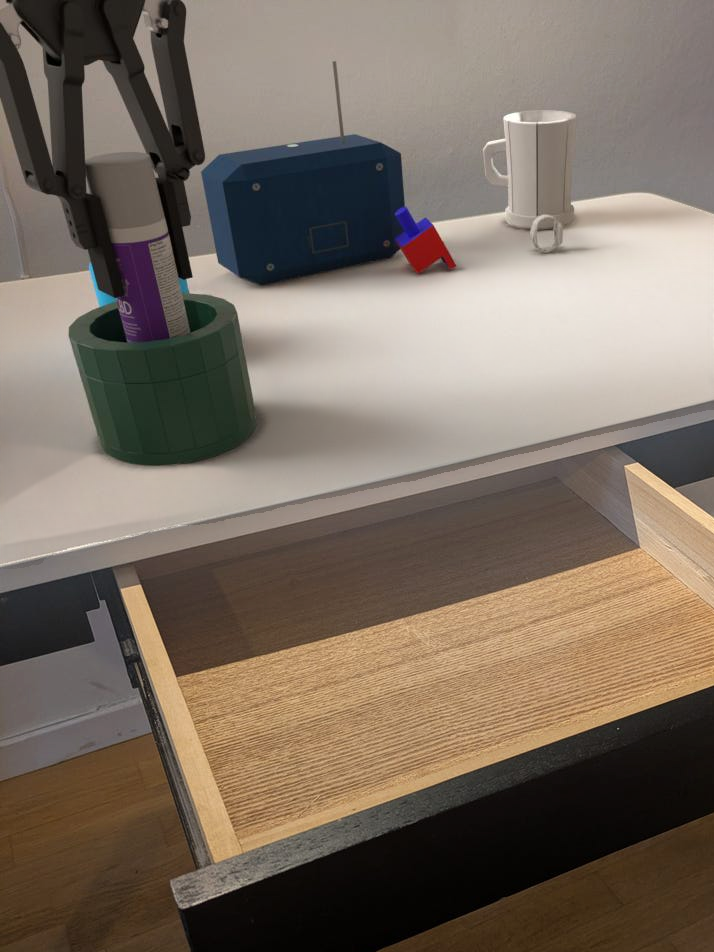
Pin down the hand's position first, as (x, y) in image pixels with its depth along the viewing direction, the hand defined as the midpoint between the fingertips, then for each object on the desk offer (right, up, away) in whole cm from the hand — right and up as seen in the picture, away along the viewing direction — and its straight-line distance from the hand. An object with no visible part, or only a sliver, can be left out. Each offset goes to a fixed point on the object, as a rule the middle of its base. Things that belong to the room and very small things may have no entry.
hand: (145, 282), depth 71 cm
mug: (-8, +2, +23) cm, 25 cm away
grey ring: (+32, +19, +43) cm, 57 cm away
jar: (0, -9, +7) cm, 12 cm away
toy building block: (+18, +16, +39) cm, 46 cm away
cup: (+31, +27, +53) cm, 68 cm away
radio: (+5, +17, +42) cm, 46 cm away
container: (0, -5, +4) cm, 7 cm away
